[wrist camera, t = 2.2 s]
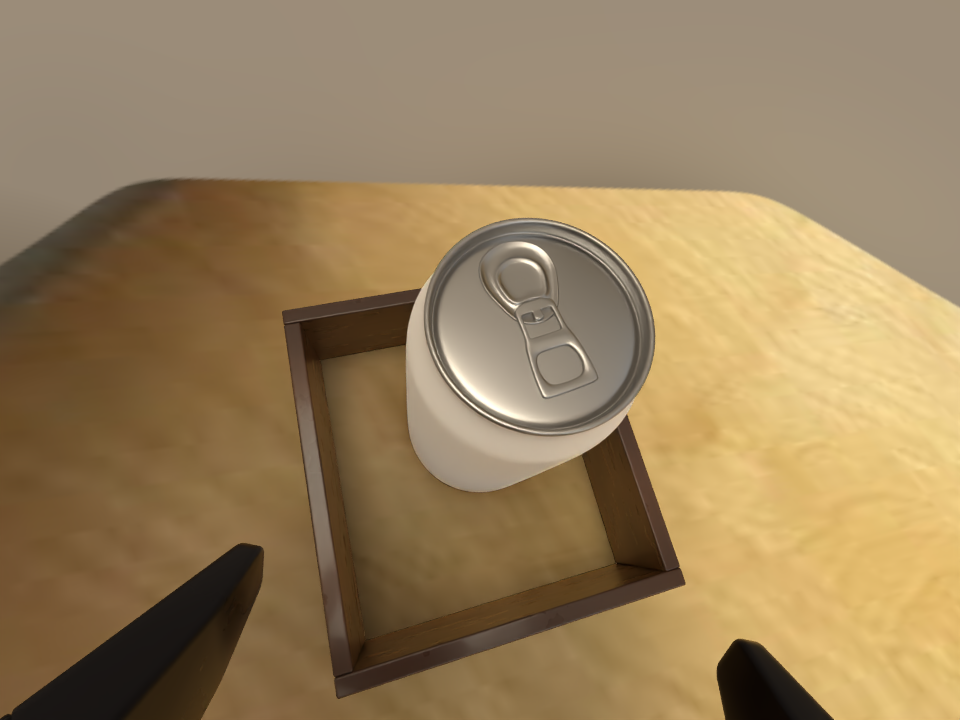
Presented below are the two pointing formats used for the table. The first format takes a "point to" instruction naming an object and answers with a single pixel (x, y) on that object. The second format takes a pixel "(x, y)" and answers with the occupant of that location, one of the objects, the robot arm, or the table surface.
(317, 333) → the tray
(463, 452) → the can
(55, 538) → the table surface
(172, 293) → the table surface
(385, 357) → the table surface
